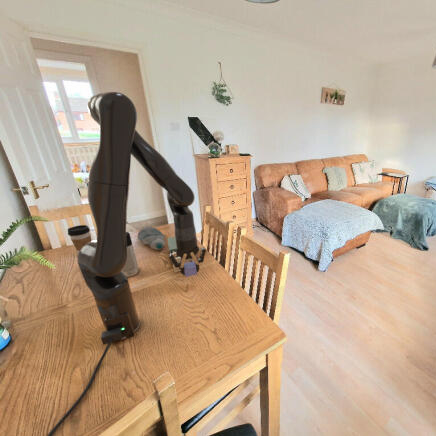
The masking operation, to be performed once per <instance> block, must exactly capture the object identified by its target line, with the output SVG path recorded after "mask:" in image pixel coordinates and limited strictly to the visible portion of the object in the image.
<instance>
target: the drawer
mask: <svg viewBox="0 0 436 436" xmlns="http://www.w3.org/2000/svg"><path fill="white" fill-rule="evenodd" d="M172 252H173V253H175V252H176V250H174V251H172ZM175 259H176V260H177V262H178V263H180V260H181V257H179V256H178V255H176V258H175ZM189 262H195V261H194V260H193V259H187V260H185V263H189ZM172 268H173V272H174V273H177V272H181V269H180V267H177V268H176V267H175V266H174V264H173V265H172Z"/></svg>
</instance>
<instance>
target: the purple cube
mask: <svg viewBox="0 0 436 436" xmlns="http://www.w3.org/2000/svg"><path fill="white" fill-rule="evenodd" d="M184 271H185V275H184V277H185V278H188V277H192V276H197V275H198V272H197V271H196V265H195V262H189V263H184Z"/></svg>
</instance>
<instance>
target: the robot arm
mask: <svg viewBox="0 0 436 436" xmlns="http://www.w3.org/2000/svg"><path fill="white" fill-rule="evenodd" d="M87 110H88V114H89V116H90V117H91V118H92V120H93V121H94V122H96V124H98V125H99V144H98V147H97V151H96V154H95V156H94V159H93V161H92V164H91V166H90V168H89V172H88V180H87V201H88V206H89V208H90V212H91V214H92V218H93V221H94V223H95V228H96V240H92V242H89V243H87V244H86V245H84V246H83V247H82V248H81V250H80V251H79V254H78V253H77V264H78V267H79V270H80V274H81V275H82V278H83V280H84V283H85V284H86V286H87V288H88V289H89V290H90V292H91V293H92V296H93V299H94V301H95V304H96V307H97V308H96V309H97V310H98V313H99V317H100V320H101V322H102V325H103V329H104V330H105V331H102V332H101V336H100V340H101V343H102V345H103V346H104V345H106V347H105V349H104V350H103V353H102V355H101V357H100V359H99V360H98V362H97V365H96V366H95V368H94V371H93V373H92V375H91V378H89V382H87V385H86V387H85V389H84V390H83V391H82V393H81V394H80V395H79V397H78V398H77V399H76V401H75V402H74V403H73V404H72V406H71V407H70V408H69V409H68V410H67V412H65V414H64V415H63V416H62V417H61V418H60V420H59V421H58V422H57V424H55V426H54V427H53V428H52V430H51V431H49V433H48V434H47V435H46V436H53V434H54V433H55V432H56V431H57V430H58V428H59V427H60V426H61V425H62V424H63V423H64V421H65V420H66V419H67V417H68V416H69V415H70V414H71V413H72V412H73V411H74V409H75V408H76V407H77V406H78V405H79V403H80V402H81V401H82V399H83V398H84V397H85V395H86V394H87V392H88V391H89V390H90V388H91V385H92V384H93V382H94V380H95V377H96V374H97V373H98V370H99V369H100V366H101V365H102V363H103V360H104V359H105V357H106V354H107V353H108V351H109V348H110V346H111V344H113V343H117V342H120V341H123V340H127V339H129V338H132V337H135V333H136V332H137V331H139V329H140V327H141V321H140V319H139V315H138V311H137V307H136V304H135V301H134V297H133V294H132V290H131V286H130V282H129V279H128V278H129V277H126V275H125V274H124V273H123V272H122V271H121V270H122V269H123V268H124V266H125V264H126V260H127V243H126V232H127V220H128V219H127V218H128V204H129V195H130V194H129V193H130V177H131V163H132V157H133V158H134V159H135V160H136V161H137V162H138V164H139V165H140V166H142V168H143V169H144V170H145V171H146V172H147V174H148V175H149V176H150V177H151V178H152V179H153V181H154V182H155V183H156V184H157V185H158V186H159V187H161V188H162V189H163V190H165V191H166V199H167V203H168V206H169V208H170V212H171V214H172V217H173V226H174V237H175V238H176V245H177V250H176V252H175V253H170V252H169V254H168V255H169V260H170V262H171V261H172V262H173V264H174V266H175V267H176V268H177V267H180V269H181V271H180V274H181V275H183V276H185V271H184V263H185V260H187V259H193V260H194V261H195V265H196V271H197V273H198V272H199V271H200V264H201V263H204V261H205V256H206V253H207V251H206V248H205V246H202V247H199V246H198V240H197V230H196V226H195V218H194V213H193V211H192V210H191V209H190V208H189V207H190V206H192V204H194V202H195V198H196V197H195V193H194V191H193V189H192V188H191V187H190V186H189V185H188V183H186V182H185V181H184V180H183V179H182V178H181V177H180V176H179V174H177V172H176V171H175V169H173V167H172V166H171V164H170V163H169V162H168V161H167V159H166V158H165V157H164V156H163V155H162V154H161V153H160V152H159V151H158V150H157V149H156V148H155V147H153V146H152V145H151V144H150V143H149V142H148V141H147V140H146V139H145V138H144V137H143V136H142V135H141V134H140V133H139V132H138V130H137V124H138V123H137V122H138V112H137V108H136V105H135V103H134V102H133V100H131V98H130V97H128V96H127V95H126V94H124V93H122V92H118V91H106V92H100V93H96V94H94V95H92V96H91V97H90V98H89V100H88V102H87ZM198 253H199V254H200V255H199V258H198V257H197V254H198ZM176 255H178V256H179V257H181V260H180V263H178V262H177V260H176V259H175V258H176Z"/></svg>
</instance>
